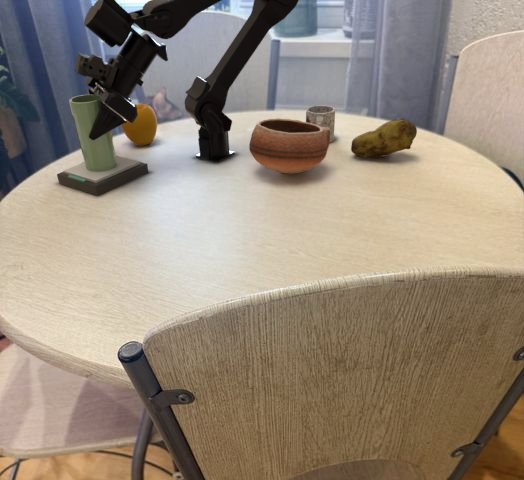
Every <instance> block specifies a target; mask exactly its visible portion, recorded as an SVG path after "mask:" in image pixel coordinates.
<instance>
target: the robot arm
mask: <svg viewBox="0 0 524 480" xmlns="http://www.w3.org/2000/svg"><path fill="white" fill-rule="evenodd" d="M221 1H222V0H148V1H147V2H145V4H144V5H143V6H142V8H141V9H138V10H134V11H131V12H128V11H127V10H125V8H123V7H122V6H121V5H120V4H119V3H118V2H117V1H116V0H96V2H95V3H94V4H93V5H91V6H90V8H89V9H88V11H87V13H86V15H85V17H84V21H83V26H85V27H86V28H87V29H88V30H89V31H90V32H91V33H93V34H94V35H96V36H97V37H98V38H99V39H100V40H101V41H103V43H104V44H106V45H107V46H108V47H109V48H114V47H115V46H117V47H118V48H120V47H121V49H120V50H119V52H118V54H117V55H116V57H113V56H111V57H109V59H108V61H107V62H106V61H104V60H103V57H102V56H97V55H95V54H93V53H92V54H91V55H87V54H85V53H82V52H77V53H76V58H75V63H74V69H73V70H74V71H75V72H76V73H77V74H78V75H80V76H82V77H85V78H86V77H87V78H86V79H85V81H84V83H85V84H86V85H87V86H86V92H87V94H98V95H102V97H101V100H102V101H103V102H104V103H105V104H104V103H103V102H102V101H100V100H99V99H97V101H98V106H99V113H98V115H97V117H96V120H95V122H94V124H93V127H92V129H91V131H90V134H89V138H90V139H91V140H95V139H97V138H99V137H100V136H102V135H104V134H105V133H107V132H109V131H111V132H112V131H113V130H114V129H116V128H118V127H120V126H121V125H122V124H124V123H125V124H126V123H127V121H126V120H125V119H127V120H128V121H129V122H131V123H132V124H133V122H134V121H135V119H136V117H137V116H138V113H137V108H136V107H135V106H134V105H135V104H133V103H132V101H133V100H132V99H131V96H132V95H133V94H134V92H135V90H136V89H137V87H138V86H139V87H142V86H143V85H144V81H143V78H144V76H145V75H146V74H147V71H148V70H149V69H150V67H151V65H152V64H153V62H155V61H154V60H155V59H156V58H157V57H158V58H159V59H161V60H163V61H164V62H168V61H169V57H168V52H167V45H166V44H165V43H162V42H161V43H158V42H157V41H156V40H154V39H153V38H152V37H151V36H150V35H149V34H151V35H153V36H155V37H157V38H159V39H162V40H169V39H172V38H174V37H175V36H176V35H178V33H180V32H181V31H182V30H184V28H186V26H187V25H188V24H189V23H190V22H191V20H192V19H193V18H194V17H195V16H196V15H198V14H200V13H202V12H203V11H205V10H207V9H209V8H211V7H212V6H215V5H216V4H218V3H219V2H221ZM298 3H299V0H253V4H252V9H251V12H250V14H249V16H248V18H247V20H246V21H245V22H244V23H243V25H242V26H241V28H240V30H239V31H238V33H237V34H236V35H235V37H234V39H233V40H232V42H231V43H230V44H229V46H228V48H227V49H226V50H225V52H224V54H223V55H222V57H221V58H220V59H219V61H218V62H217V64H216V66H215V67H214V68H213V70H212V72H211V73H210V74H209V75H208V76H206V77H205V78H204V79H203V78H201V77H200V76H196V77H195V78H194V80H193V82H192V84H191V86H190V87H189V88H188V89H187V90H186V91H185V94H186V96H185V98H184V109H185V111H186V113H187V115H188V116H189V117H190V118H192V119H193V120H194V122H195V124H196V125H198V126H199V129H198V131H197V132H198V140H197V141H198V148H199V153H197V154H195V157H196V158H197V159H200V160H205V161H210V162H213V163H219V162H222V161H223V160H226V159H229V157H232V156H234V155H235V154H236V152H235V151H234V150H230V142H229V141H230V140H229V132H230V131H231V128H232V124H233V120H232V119H231V118H230V117H229V116H227V115H226V114H225V113H224V112H223V111H224V108H225V107H226V103H227V99H228V94H229V90H230V89H231V88H232V86H233V84H234V83H235V81H236V79H237V78H238V77H239V76H240V74H241V72H242V71H243V69H244V68H245V66H246V65H247V64H248V62H249V61H250V59H251V58H252V56H253V54H254V53H255V52H256V50H257V49H258V48H259V46H260V44H261V43H262V42H263V40H264V39H265V37H266V36H267V34H268V33H269V31H270V30H271V29H272V28H274V27H275V26H276V25H278V24H279V23H281V22H282V21H284V20H285V19H286V18H287V17H288V15H289V14H291V12H292V11H293V10H294V9H295V8H296V7H297V5H298ZM133 26H134V27H136V28H138V29H139V30H142V31H143V32H148V33H149V34H148V33H144V34H143V35H141V34H140V33H138V31H136V29H134V28H133ZM89 87H90V88H89ZM124 118H125V119H124Z"/></svg>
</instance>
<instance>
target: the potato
mask: <svg viewBox="0 0 524 480" xmlns="http://www.w3.org/2000/svg"><path fill="white" fill-rule="evenodd" d="M417 133H418V128H417V126H416V125H415V124H414V123H413V122H411V121H410V120H408V119H406V118H395V119H392V120H388V121H387V122H385V123H383V124H381V125H380V126H378V127H377V128H375V129H374V130H370V131H369V130H368V131H366V132H364V133H362V134H359V135H357V136H356V137H354V138H353V139H352V141H351V145H350V151H351V152H352V154H354V155H355V156H357V157H360V158H364V157H369V158H371V157H372V158H374V157H375V158H376V157H378V158H381V157H386V156H389V155H392V154H394V153H398V152H400V151H404V150H410V149H411V148H412V147H411V146H412V145H413V142H414V140H415V138H416V137H417Z"/></svg>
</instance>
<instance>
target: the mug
mask: <svg viewBox="0 0 524 480" xmlns="http://www.w3.org/2000/svg"><path fill="white" fill-rule="evenodd" d="M335 121H336V107H334V106H331V105H325V104H324V105H323V104H320V105H319V104H317V105H316V104H315V105H311V106H308V107H307V108H306V109H305V122H308V123H312V124H316V125H318V126H321V127H328V128H329V129H330V143H332V142H333V141H334V140H335V123H336V122H335Z"/></svg>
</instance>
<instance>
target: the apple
mask: <svg viewBox="0 0 524 480" xmlns="http://www.w3.org/2000/svg"><path fill="white" fill-rule="evenodd" d="M133 105H134V106H135V107H136V108H137V113H138V116H137V117H136V119H135V121H134V122H133V124H132V123H131V122H129V121H128V120H127V119H125V118H124V119H125V120H126V121H127V123H126V124H125V123H124V124H122V125H120V126H121V129H122V131H123V133H124V134H125V136H126V137H127V139H128V140H129V141H130V142H131V143H133V144H134V145H136V146H140V147H141V146H142V147H143V146H147V145H149V144H152V143H153V142H154V140H155V137H156V134H157V129H158V117H157V115H156V113H155V110H154V109H153V107H152V106H150V105H149V104H146V103H134V104H133Z"/></svg>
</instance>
